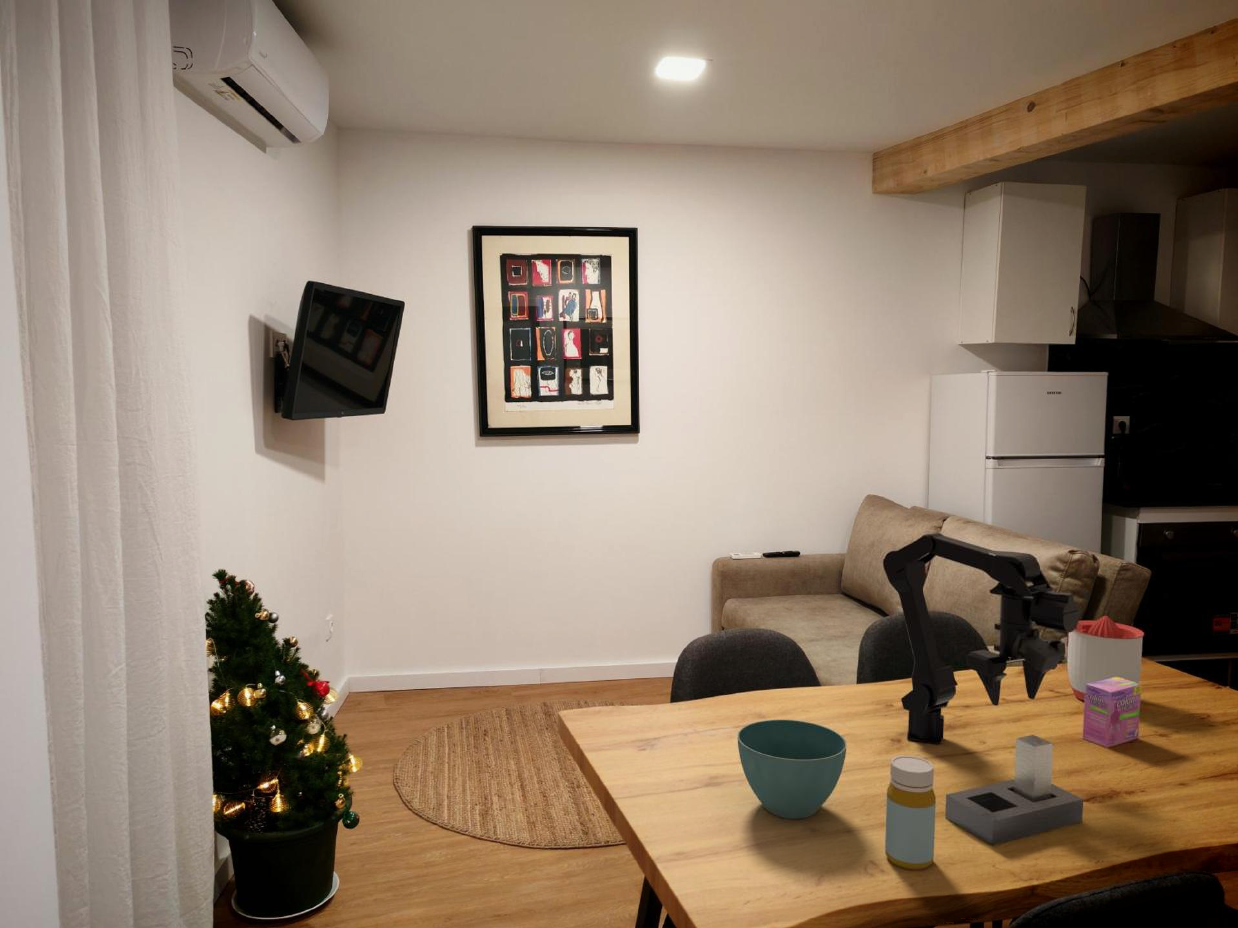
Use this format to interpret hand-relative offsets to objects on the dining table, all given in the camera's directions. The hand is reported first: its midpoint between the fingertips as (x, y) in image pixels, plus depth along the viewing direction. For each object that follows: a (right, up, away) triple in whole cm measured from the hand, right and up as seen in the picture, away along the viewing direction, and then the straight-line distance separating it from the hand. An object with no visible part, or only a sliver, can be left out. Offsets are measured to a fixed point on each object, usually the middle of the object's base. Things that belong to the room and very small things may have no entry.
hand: (1013, 701), depth 165 cm
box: (+27, -12, +16) cm, 34 cm away
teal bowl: (-45, -14, -15) cm, 50 cm away
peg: (-5, -14, -18) cm, 23 cm away
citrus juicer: (+38, -11, +41) cm, 57 cm away
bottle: (-30, -16, -32) cm, 47 cm away
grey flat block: (-9, -15, -19) cm, 26 cm away
